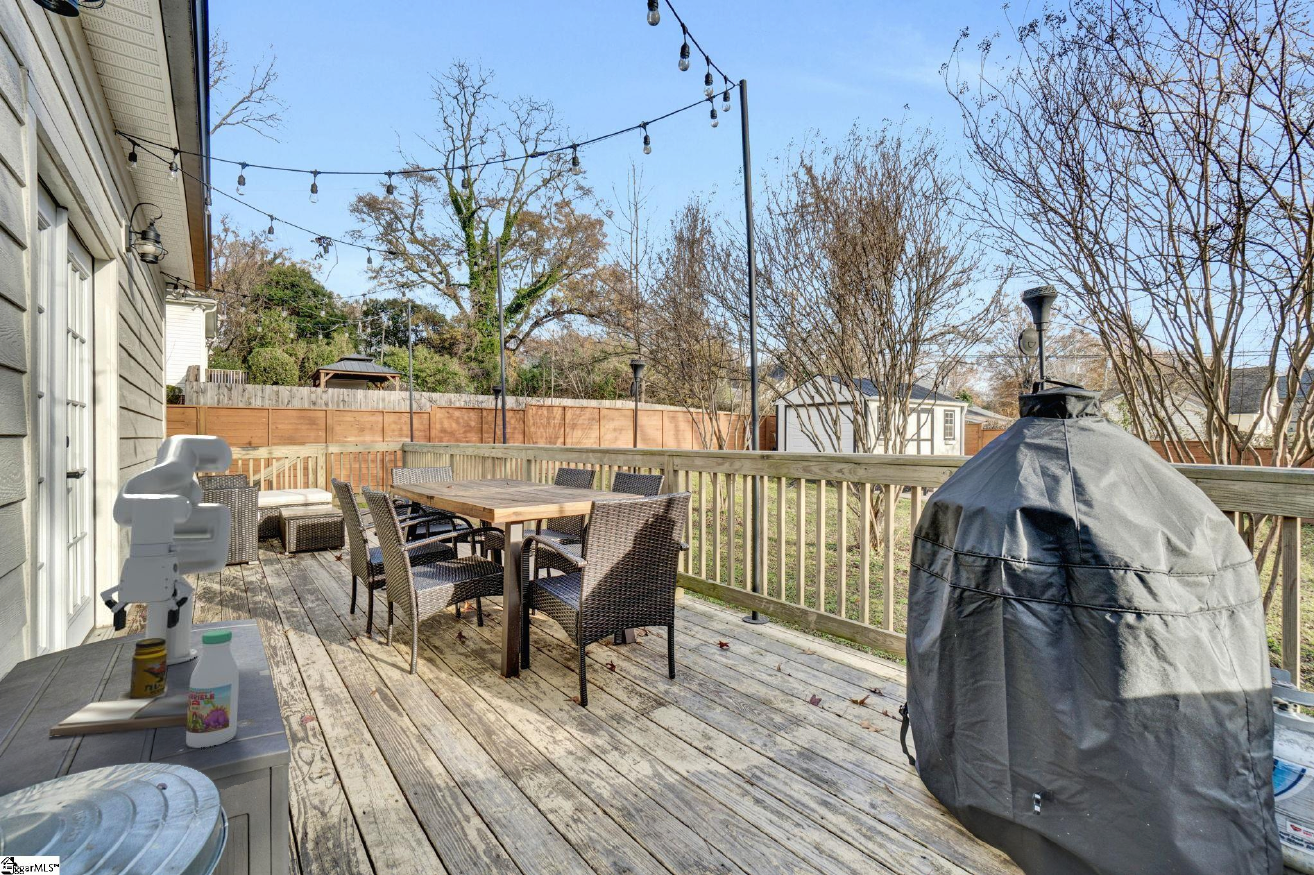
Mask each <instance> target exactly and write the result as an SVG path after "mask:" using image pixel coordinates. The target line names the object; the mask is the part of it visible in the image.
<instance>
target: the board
mask: <svg viewBox="0 0 1314 875" xmlns="http://www.w3.org/2000/svg"><path fill="white" fill-rule="evenodd" d="M188 698H189V694H181V695H169V696H168V695H167V696H166V695H165V696H164V697H152V698H139V699H126V700H117V699H115V700H103V701H101V700H100V701H91V702H90V703H88V704H87V705H85V706H84V707H82V708H80V709H79V710H77V711H75V712H74V713H73V714H71V715H69V716H68V717H66V718H65V719H63V720H61V721H60V722H59V723H57V724H56V725H54V726H52V727H51V728H50V729H49V736H55V735H67V736H76V735H75V734H80V735H89V734H90V735H91V734H100V733H111V732H112V733H113V732H123V731H124V732H125V731H132V730H133V731H135V730H146V729H157V728H167V727H181V726H187V713H188ZM67 736H66V737H67Z"/></svg>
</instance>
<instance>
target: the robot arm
mask: <svg viewBox="0 0 1314 875" xmlns="http://www.w3.org/2000/svg"><path fill="white" fill-rule="evenodd" d="M232 462H233V451H232V449H231V446H230V445H229V444H228V442H227V441H226V440H225V439H224V438H222V437H219V436H216V435H215V436H214V435H195V434H193V435H192V434H191V435H190V434H176V435H172V436H169V437H168V438H165V439H164V441H163V442H162V443H161V445H160V447H159V448H158V450H157V452H156V459H155V462H154V464H153V467H150V468H147V469H146V470H144V471H142V472H140V473H138V474H136V475H134V476H132V477H130V478H128V480H126V481H125V482H124V483H123V484H122V486H121V487H120V489H119V492H118V494H117V497H116V498H115V500H114V505H113V508H112V517H113V521H114V523H115V524H117V525H119V526H120V527H125V528H130V529H131V530H130V540H129V541H130V543H129V555H128V557H127V558H125V560H124V563H123V566H122V570H121V572H120V578H119V584H117V585H114V586H113V587H110V588H108V589H106V590H104V591H102V592H100V594H99V595H100V597H101V600H102V601H103V602H104V605H105V606H106V607H107V608H108V609H109V610H110V612H111V613H113V619H112V626H113V627H114V632H119V631H121V630H125V628H126V627H127V626H126V625H127V615H128V614H127V612H128V611H127V609H125V608H126V607H128V605H129V604H147V606H146V609H147V610H146V624H145V638H144V640H145V639H150V638H163V639H165V640H166V642H165V650H166V651H167V659H166V666H171V665H176V664H177V665H178V664H181V663H185V662H188V661H191V660H192V659H194V657H195V658H196V657H197V655H198V650H197V649H193V648H191V643H192V640H193V637H192V624H193V623H192V622H193V607H194V606H193V605H194V604H193V603H194V593H195V592H196V588H195V587H192V585H191V583H190V582H189V581H188V580H187V579H186V578H185V577H184V576H185V575H195V574H196V575H197V574H198V575H199V574H214V573H218V572H221V571H223V570H224V568H225V567H226V565H227V563H228V557H229V547H230V538H231V530H232V513H231V510H230V508H229V507H228V506H227V505H225V504H223V503H222V504H221V503H217V502H216V503H215V502H214V503H213V502H212V503H211V502H210V503H207V502H206V503H202V501H203V496H204V490H203V489H202V487H201V486H200V484H199V483H198V482H197V481H196V480H195V479H194V476H195V473H198V474H199V473H204V474H205V473H207V474H208V473H209V474H213V473H214V474H219V473H225V472H228V471H229V469H230V468H231V466H232V464H233V463H232ZM115 593H117V599H118V600H117V601H118V602H117V601H116V600H115V599H114V598H113V595H114V594H115ZM190 659H191V660H190Z"/></svg>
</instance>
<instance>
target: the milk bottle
mask: <svg viewBox="0 0 1314 875" xmlns="http://www.w3.org/2000/svg"><path fill="white" fill-rule="evenodd" d="M232 634H233V632H232V630H229V629H215V630H211V631H207V632H205V633H203V634H202V638H201V642H202V643H201V646H202V647H203V648H202V653H201V656H200V658H199V660H198V661H197V664H196V665H195V667H194V669H193V671H192V673H191V676H190V680H189V686H188V687H189V688H188V695H189V698H188V713H187V725H186V729H185V730H186V734H185V735H186V736H185V743H186V745H187V747H189V748H194V749H202V748H203V747H205V748H210V746H211V747H215V746H214V745H216V746H219V745H222V744H225V743H226V742H229V741H231V740H232V739H233V738H234V737H235V736H236V734H237V726H238V725H237V724H238V705H239V689H240V687H239V685H240V683H239V682H240V680H239V679H240V678H239V677H240V674H239V668H238V665H237V662H236V660H235V659H234V657H233V655H232V651H231V643H232V639H233V638H232V637H233V635H232ZM201 747H202V748H201Z"/></svg>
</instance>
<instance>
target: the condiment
mask: <svg viewBox="0 0 1314 875" xmlns="http://www.w3.org/2000/svg"><path fill="white" fill-rule="evenodd" d="M165 642H166V640H165V639H163V638H150V639H145V638H144V639H142V640H139V641H136V643H135V649H134V653H133V655H132V661H131V673H130V674H131V678H130V686H129V687H130V690H126V691H120V692H119V695H118V697H117V698H116V700H126V699H139V698H152V697H166V694H167V691H168V689H169V688H168V687H169V686H168V685H167V686H166V677H167V676H166V674H167V673H166V672H167V665H166V659H167V651H166V650H165Z"/></svg>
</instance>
